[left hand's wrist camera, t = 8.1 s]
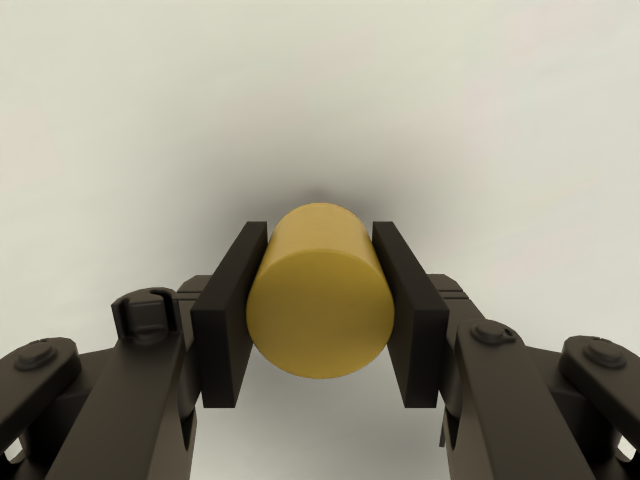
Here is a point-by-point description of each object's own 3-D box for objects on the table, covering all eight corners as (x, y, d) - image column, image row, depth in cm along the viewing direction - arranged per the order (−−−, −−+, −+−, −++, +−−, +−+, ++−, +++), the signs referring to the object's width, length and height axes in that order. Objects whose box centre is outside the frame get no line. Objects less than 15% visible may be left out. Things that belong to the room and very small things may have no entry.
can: (364, 194, 14) (388, 238, 9) (376, 289, 15) (401, 370, 10) (259, 211, 14) (228, 261, 9) (280, 303, 15) (262, 388, 11)
